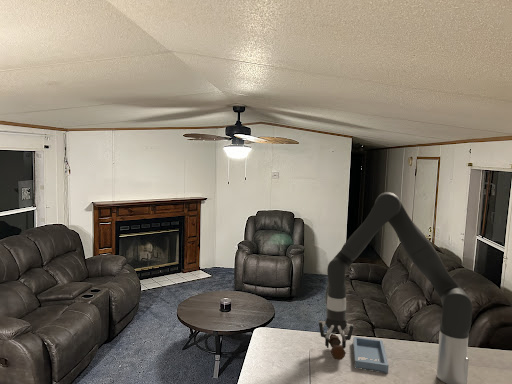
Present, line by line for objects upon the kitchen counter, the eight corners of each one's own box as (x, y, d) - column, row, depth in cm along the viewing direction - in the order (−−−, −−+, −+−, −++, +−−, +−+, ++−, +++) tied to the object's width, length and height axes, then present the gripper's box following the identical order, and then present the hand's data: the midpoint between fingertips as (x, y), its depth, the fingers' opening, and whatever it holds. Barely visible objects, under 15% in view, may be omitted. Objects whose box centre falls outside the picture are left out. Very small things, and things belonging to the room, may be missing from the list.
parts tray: (382, 347, 159) (382, 340, 159) (388, 373, 139) (388, 365, 139) (353, 343, 162) (353, 336, 162) (354, 368, 141) (355, 360, 141)
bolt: (334, 346, 158) (340, 363, 143) (324, 339, 158) (328, 356, 143) (342, 334, 157) (348, 350, 142) (331, 328, 158) (336, 343, 143)
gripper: (354, 305, 152) (353, 345, 153) (319, 302, 155) (317, 341, 156) (355, 312, 145) (353, 354, 146) (317, 308, 148) (316, 350, 149)
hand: (335, 347), depth 151 cm, fingers closed on bolt, 5 cm apart
